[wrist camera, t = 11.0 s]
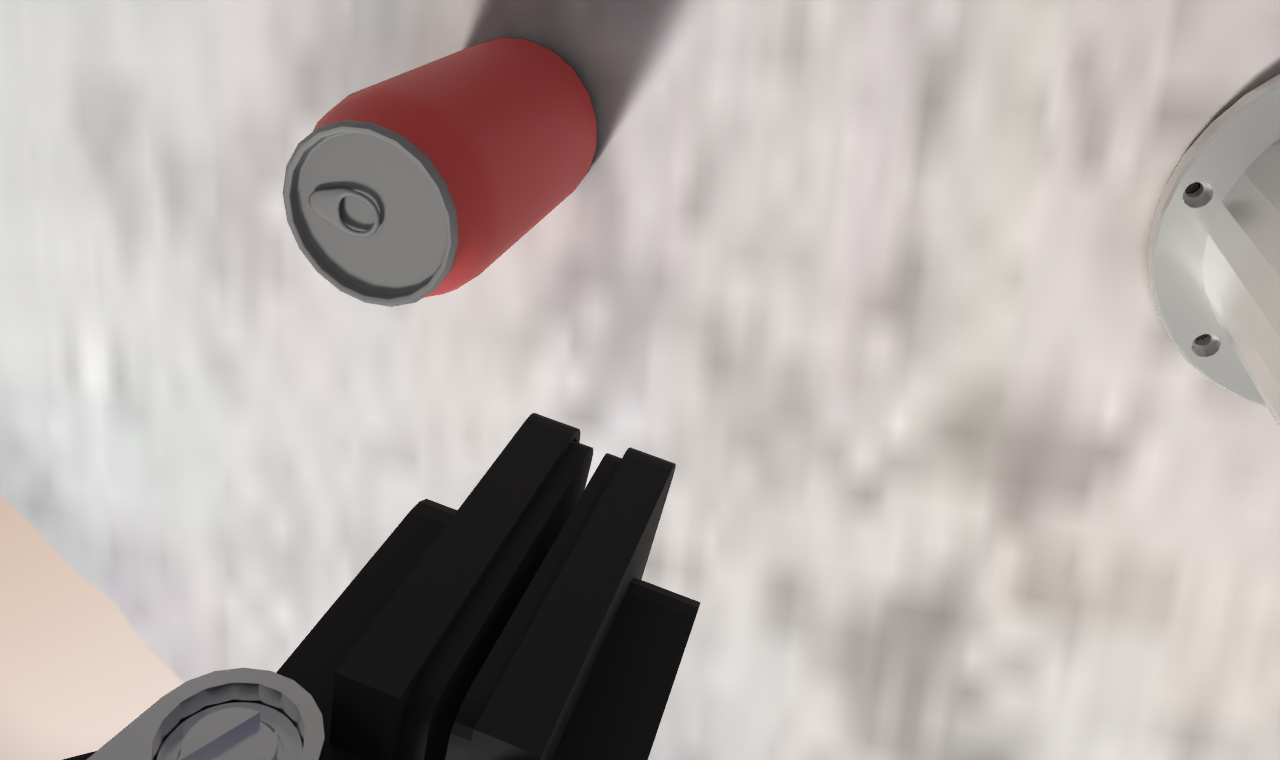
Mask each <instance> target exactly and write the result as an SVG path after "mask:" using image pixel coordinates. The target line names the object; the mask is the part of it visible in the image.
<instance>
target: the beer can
mask: <svg viewBox="0 0 1280 760" xmlns="http://www.w3.org/2000/svg"><path fill="white" fill-rule="evenodd" d="M596 148H597V120H596V116H595V113H594V110H593V106H592V103H591V99H590V96H589V93H588V91H587V90H586V88H585V87H584V85H583V84H582V82H581V80H580V79H579V77H578V76H577V74H576V73H575V71H574V69H573V68H571V67H570V66H569V65H568V64H567V63H566V62H565V61H563V60H562V59H561V58H560V57H559V56H558V55H557V54H555V53H554V52H553V51H552V50H550V49H548V48H545V47H543V46H541V45H539V44H536V43H534V42H532V41H529V40H527V39H516V38H504V37H500V38H497V39H493V40H490V41H487V42H483V43H480V44H477V45H474V46H472V47H469V48H466V49H464V50H461V51H459V52H456V53H454V54H451V55H449V56H446V57H444V58H441V59H439V60H436V61H433V62H431V63H428V64H426V65H423V66H421V67H418V68H416V69H413V70H411V71H408V72H406V73H403V74H400V75H398V76H395V77H393V78H390V79H388V80H385V81H383V82H380V83H378V84H375V85H373V86H370V87H367V88H365V89H362V90H360V91H357V92H355V93H352V94H350V95H348V96H347V97H346V98H345V99H344V100H342V101H341V102H340V103H339V104H337V105H336V106H335V107H334V108H332V109H331V110H330V111H329V112H328V113H327V114H326V115H325V116H324V117H323V118H322V119H320V120H319V121H318V123H317V125H316V127H315V128H314V130H313V132H312V133H311V134H310V135H308V136H307V137H306V138H305V139H304V140H302V141H301V142H300V143H299V144H298V145H297V147H296V149H295V151H294V153H293V155H292V157H291V159H290V160H289V162H288V164H287V166H286V173H285V181H284V188H283V197H284V203H285V210H286V216H287V221H288V224H289V226H290V228H291V230H292V233H293V235H294V237H295V240H296V242H297V244H298V246H299V249H300V250H301V251H302V252H303V254H304V255H305V256H306V258H307V259H308V260H309V262H310V263H311V264H312V266H313V267H314V268H315V269H316V271H317V272H318V273H319V274H320V275H322V276H323V277H324V278H325V279H326V280H328V281H329V282H330V283H331V284H333V285H334V286H335V287H336V288H338V289H339V290H340V291H342V292H344V293H346V294H348V295H350V296H353V297H355V298H357V299H359V300H361V301H363V302H365V303H371V304H378V305H384V306H391V307H392V306H398V305H403V304H409V303H414V302H417V301H418V300H420V299H422V298H424V297H429V296H434V295H440V294H444V293H447V292H450V291H453V290H455V289H457V288H459V287H460V286H462V285H464V284H465V283H467V282H468V281H470V280H472V279H473V278H475V277H477V276H478V275H479V274H481V273H482V272H483V271H484V270H485V269H486V268H487V267H488V266H490V265H491V264H492V263H493V262H494V261H495V260H496V259H497V258H499V257H500V256H501V255H502V254H503V253H504V252H505V251H507V250H508V249H509V248H510V247H511V246H512V245H513V244H514V243H516V242H517V241H518V240H519V239H520V238H521V237H522V236H523V235H525V234H526V233H527V232H528V231H529V230H530V229H531V228H533V227H534V226H535V225H536V224H537V223H538V222H539V221H540V220H542V219H543V218H544V217H545V216H546V215H547V214H548V213H549V212H551V211H552V210H553V209H554V208H555V207H556V206H557V205H559V204H560V203H561V202H562V201H563V200H564V199H565V198H566V197H568V196H569V195H570V194H571V193H572V192H573V191H574V190H575V189H576V188H577V186H578V185H579V184H580V182H581V181H582V180H583V178H584V177H585V176H586V174H587V173H588V172H589V169H590V166H591V163H592V160H593V157H594V154H595V151H596Z"/></svg>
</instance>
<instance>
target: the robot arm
mask: <svg viewBox="0 0 1280 760" xmlns="http://www.w3.org/2000/svg"><path fill="white" fill-rule="evenodd" d="M1195 182H1199V183H1200V184H1201V185H1200V188H1199V190H1198V191H1197V192H1195V193H1192V194H1188V193H1186V192H1185V189H1186V188H1187V187H1188V186H1189V185H1190V184H1192V183H1195ZM1146 259H1147V272H1148V285H1149V289H1150V292H1151V295H1152V298H1153V301H1154V304H1155V308H1156V311H1157V314H1158V316H1159V318H1160V320H1161V322H1162V324H1163V326H1164V328H1165V330H1166V332H1167V334H1168V336H1169V338H1170V340H1171V341H1172V342H1173V344H1174V345H1175V346H1176V348H1177V349H1178V350H1179V352H1180V353H1181V354H1182V356H1183V357H1184V358H1185V359H1186V360H1187V361H1188V363H1190V364H1191V365H1192V366H1193V367H1194V368H1196V369H1197V370H1198V371H1199V372H1200V373H1202V374H1203V375H1204V376H1205V377H1207V378H1208V379H1209V380H1210V381H1211V382H1213V383H1214V384H1216V385H1217V386H1219V387H1221V388H1223V389H1225V390H1227V391H1229V392H1231V393H1232V394H1234V395H1236V396H1238V397H1240V398H1242V399H1244V400H1246V401H1249V402H1252V403H1255V404H1259V405H1262V406H1265V407H1268V409H1269V410H1270V412H1271V414H1272V416H1273V417H1274V419H1275V421H1276V423H1277V424H1278V426H1279V428H1280V74H1278V75H1276V76H1275V77H1273V78H1271V79H1270V80H1268V81H1267V82H1265V83H1263V84H1262V85H1260V86H1258V87H1257V88H1255V89H1253V90H1252V91H1250V92H1248V93H1247V94H1245V95H1244V96H1243V97H1242V98H1240V99H1239V100H1238V101H1237V102H1236V103H1234V104H1233V105H1232V106H1231V107H1230V108H1228V109H1227V110H1226V111H1225V112H1224V113H1222V114H1221V115H1220V116H1219V117H1218V118H1216V119H1215V120H1214V121H1213V122H1212V123H1211V124H1210V125H1209V126H1208V127H1207V128H1206V129H1205V131H1204V132H1203V133H1202V134H1201V135H1200V136H1199V137H1198V139H1197V140H1196V141H1195V142H1194V143H1193V144H1192V146H1191V147H1190V148H1189V149H1188V150H1187V151H1186V152H1185V154H1184V155H1183V156H1182V158H1181V160H1180V161H1179V163H1178V165H1177V166H1176V168H1175V170H1174V171H1173V173H1172V175H1171V176H1170V178H1169V180H1168V181H1167V183H1166V185H1165V186H1164V188H1163V191H1162V193H1161V196H1160V199H1159V201H1158V204H1157V207H1156V210H1155V212H1154V215H1153V218H1152V220H1151V225H1150V232H1149V239H1148V245H1147V252H1146ZM1204 334H1208V336H1207V337H1206V338H1205V339H1202V340H1195V339H1196V338H1197V337H1198V336H1201V335H1204ZM579 440H580V430H579V429H577V428H575V427H572V426H569V425H566V424H563V423H561V422H558V421H555V420H552V419H550V418H547V417H544V416H541V415H538V414H536V413H533V414H531V415H530V416H529V417H528V418H527V420H526V421H525V422H524V424H523V425H522V426H521V427H520V429H519V430H518V431H517V433H516V434H515V435H514V437H513V438H512V439H511V441H510V442H509V443H508V445H507V446H506V447H505V449H504V450H503V451H502V453H501V454H500V455H499V457H498V458H497V459H496V461H495V462H494V463H493V464H492V466H491V467H490V468H489V470H488V471H487V472H486V474H485V475H484V476H483V478H482V479H481V480H480V482H479V483H478V484H477V486H476V487H475V488H474V490H473V491H472V492H471V494H470V495H469V496H468V497H467V499H466V500H465V501H464V503H463V504H462V505H461V507H460V508H459V509H458V511H457V510H455V509H452V508H449V507H447V506H444V505H441V504H439V503H436V502H434V501H431V500H428V499H425V500H423V501H420V502H419V503H418V504H417V505H416V506H415V507H414V508H413V509H412V510H411V511H410V512H409V513H408V515H407V516H406V517H405V518H404V519H403V521H402V522H401V523H400V524H399V525H398V527H397V528H396V529H395V530H394V531H393V533H392V534H391V535H390V536H389V537H388V539H387V540H386V541H385V542H384V543H383V545H382V546H381V547H380V548H379V550H378V551H377V552H376V553H375V554H374V556H373V557H372V558H371V559H370V560H369V562H368V563H367V564H366V565H365V566H364V568H363V569H362V570H361V571H360V572H359V574H358V575H357V576H356V577H355V578H354V580H353V581H352V582H351V583H350V585H349V586H348V587H347V588H346V589H345V591H344V592H343V593H342V594H341V595H340V597H339V598H338V599H337V600H336V601H335V603H334V604H333V605H332V606H331V607H330V609H329V610H328V611H327V612H326V613H325V615H324V616H323V617H322V618H321V619H320V621H319V622H318V623H317V624H316V626H315V627H314V628H313V629H312V630H311V632H310V633H309V634H308V635H307V636H306V638H305V639H304V640H303V641H302V642H301V644H300V645H299V646H298V647H297V648H296V650H295V651H294V652H293V653H292V654H291V656H290V657H289V658H288V659H287V661H286V662H285V663H284V664H283V665H282V667H281V668H280V669H279V670H278V671H277V673H274V672H272V671H267V670H258V669H249V668H238V669H230V670H221V671H214V672H212V673H209V674H206V675H203V676H200V677H198V678H195V679H192V680H189V681H187V682H185V683H184V684H182V685H180V686H179V687H177V688H176V689H174V690H173V691H171V692H170V693H168V694H166V695H165V696H163V697H162V698H161V699H159V700H158V701H157V702H156V703H155V704H153V705H152V706H151V707H150V708H148V709H147V710H146V711H145V712H144V713H142V714H141V715H140V716H139V717H138V718H137V719H135V720H134V721H133V722H132V723H131V724H129V725H128V726H127V727H126V728H124V729H123V730H122V731H121V732H119V733H118V734H117V735H116V736H115V737H113V738H112V739H111V740H110V741H109V742H107V743H106V744H105V745H104V746H103V747H101V748H100V749H99V750H98V751H95V752H91V753H87V754H83V755H79V756H75V757H71V758H67V759H64V760H648V757H649V754H650V751H651V748H652V745H653V742H654V739H655V736H656V733H657V730H658V727H659V724H660V721H661V718H662V715H663V712H664V709H665V706H666V703H667V701H668V698H669V695H670V692H671V689H672V686H673V683H674V680H675V677H676V674H677V671H678V668H679V665H680V662H681V659H682V656H683V653H684V650H685V647H686V644H687V641H688V638H689V635H690V632H691V629H692V626H693V623H694V620H695V617H696V614H697V611H698V608H699V605H700V602H698V601H695V600H692V599H690V598H687V597H684V596H682V595H679V594H676V593H674V592H671V591H669V590H666V589H663V588H661V587H658V586H655V585H653V584H650V583H647V582H645V581H642V580H641V579H642V576H643V572H644V569H645V566H646V563H647V559H648V556H649V553H650V550H651V546H652V543H653V540H654V536H655V533H656V530H657V527H658V523H659V520H660V517H661V514H662V510H663V507H664V504H665V501H666V497H667V494H668V491H669V488H670V484H671V481H672V478H673V474H674V471H675V466H676V464H674V463H672V462H669V461H666V460H663V459H661V458H658V457H655V456H652V455H649V454H647V453H644V452H641V451H638V450H636V449H633V448H628V449H627V451H626V453H625V454H624V456H623V458H619V457H616V456H614V455H611V454H608V453H607V454H605V456H604V457H603V459H602V461H601V462H600V464H599V466H598V468H597V469H596V471H595V473H594V474H593V476H592V478H591V480H590V481H589V483H588V485H587V487H586V488H585V485H586V481H587V477H588V473H589V469H590V465H591V461H592V456H593V448H591V447H589V446H586V445H583V444H580V443H579ZM584 489H585V490H584Z"/></svg>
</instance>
